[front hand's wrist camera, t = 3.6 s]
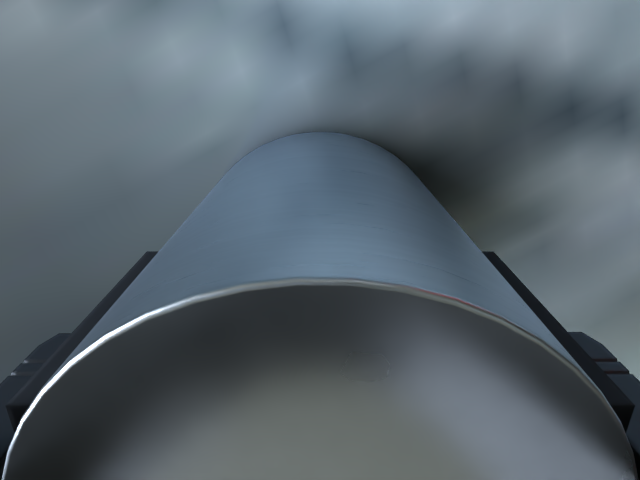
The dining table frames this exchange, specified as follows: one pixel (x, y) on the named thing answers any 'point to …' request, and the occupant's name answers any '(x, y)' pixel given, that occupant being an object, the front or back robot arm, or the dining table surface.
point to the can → (320, 346)
